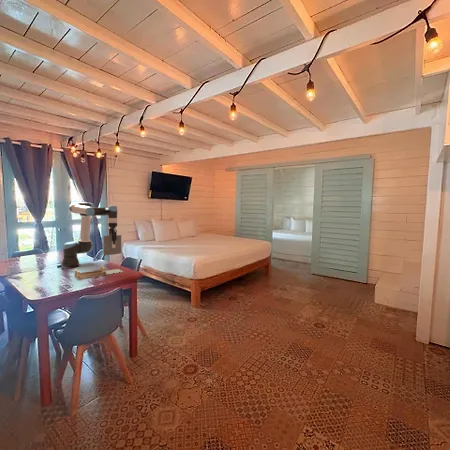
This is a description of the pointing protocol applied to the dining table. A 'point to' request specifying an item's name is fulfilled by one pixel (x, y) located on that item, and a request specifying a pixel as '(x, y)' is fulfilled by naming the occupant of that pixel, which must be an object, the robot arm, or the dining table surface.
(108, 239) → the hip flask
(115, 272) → the mat
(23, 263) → the dining table surface
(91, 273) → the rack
